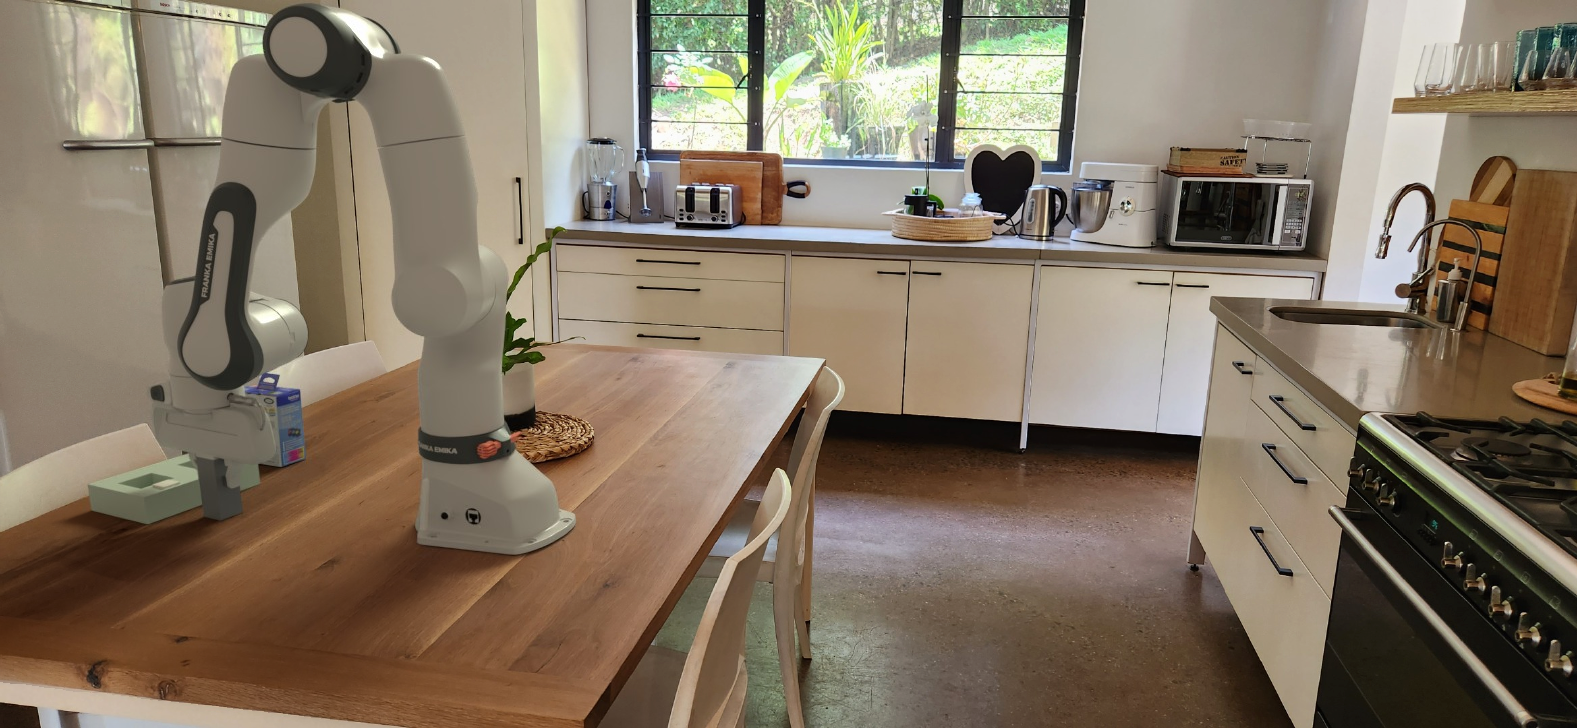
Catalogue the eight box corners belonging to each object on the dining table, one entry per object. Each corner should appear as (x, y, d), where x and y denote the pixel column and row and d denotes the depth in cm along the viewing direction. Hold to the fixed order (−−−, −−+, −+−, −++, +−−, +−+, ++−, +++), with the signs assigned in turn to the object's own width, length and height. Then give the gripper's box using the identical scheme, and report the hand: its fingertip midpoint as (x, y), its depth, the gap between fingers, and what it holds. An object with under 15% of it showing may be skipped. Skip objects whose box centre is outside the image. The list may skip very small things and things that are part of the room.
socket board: (260, 483, 154) (257, 457, 153) (147, 524, 138) (143, 495, 137) (206, 472, 159) (203, 446, 158) (91, 510, 143) (87, 482, 142)
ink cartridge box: (309, 458, 167) (300, 374, 163) (283, 468, 161) (274, 382, 158) (262, 451, 170) (253, 369, 166) (235, 461, 164) (226, 376, 161)
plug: (242, 512, 143) (235, 446, 141) (221, 520, 140) (212, 453, 138) (225, 508, 145) (218, 442, 142) (203, 516, 141) (195, 449, 139)
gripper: (281, 393, 137) (291, 488, 140) (180, 376, 145) (191, 466, 148) (241, 404, 131) (252, 502, 134) (137, 386, 139) (150, 480, 142)
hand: (219, 483), depth 141 cm, fingers closed on plug, 3 cm apart
